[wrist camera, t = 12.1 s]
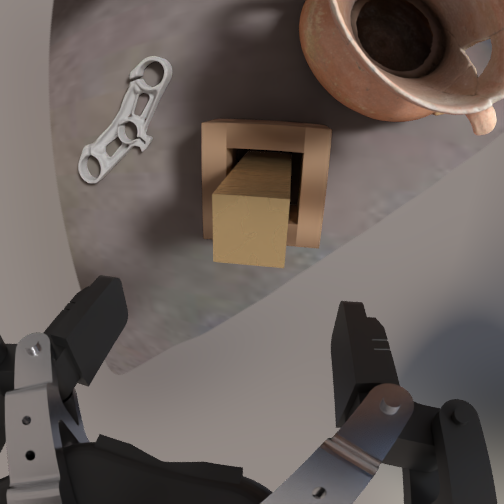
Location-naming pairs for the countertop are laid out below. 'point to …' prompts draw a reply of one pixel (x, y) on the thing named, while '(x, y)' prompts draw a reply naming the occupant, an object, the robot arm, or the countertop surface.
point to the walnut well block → (280, 139)
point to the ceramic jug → (406, 56)
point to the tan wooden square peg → (253, 211)
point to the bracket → (121, 118)
